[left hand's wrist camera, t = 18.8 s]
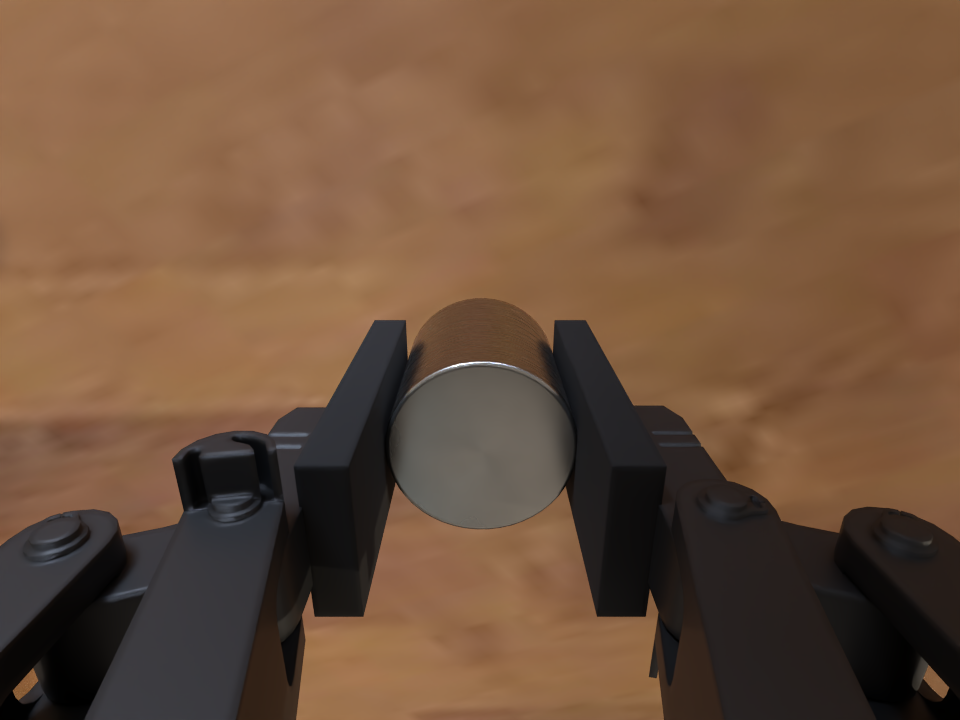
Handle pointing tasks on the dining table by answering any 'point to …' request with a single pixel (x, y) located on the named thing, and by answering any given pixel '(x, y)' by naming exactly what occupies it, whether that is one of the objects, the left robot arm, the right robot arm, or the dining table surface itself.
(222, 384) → the dining table surface
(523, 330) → the tin
